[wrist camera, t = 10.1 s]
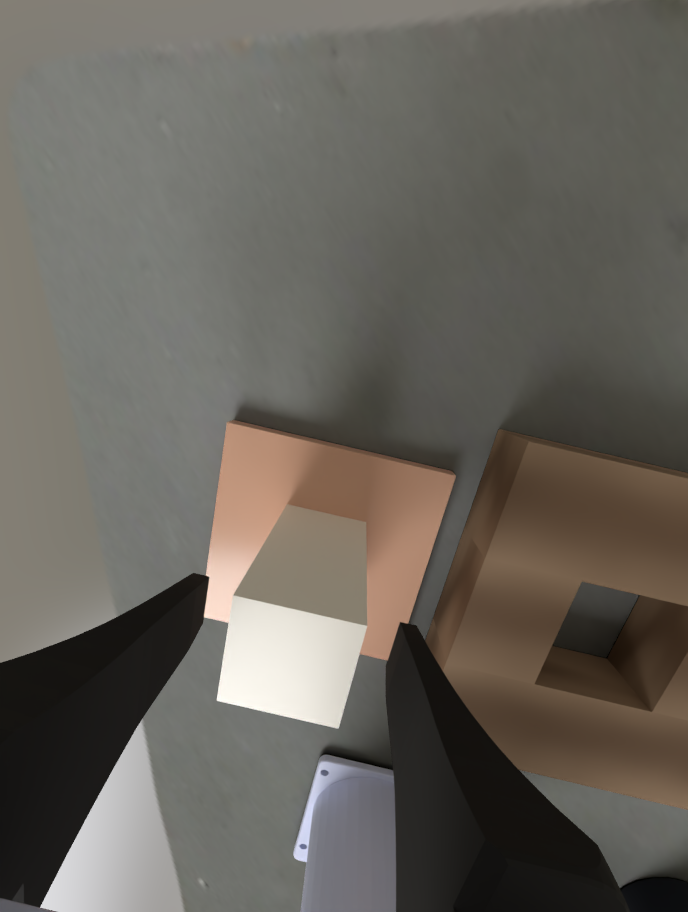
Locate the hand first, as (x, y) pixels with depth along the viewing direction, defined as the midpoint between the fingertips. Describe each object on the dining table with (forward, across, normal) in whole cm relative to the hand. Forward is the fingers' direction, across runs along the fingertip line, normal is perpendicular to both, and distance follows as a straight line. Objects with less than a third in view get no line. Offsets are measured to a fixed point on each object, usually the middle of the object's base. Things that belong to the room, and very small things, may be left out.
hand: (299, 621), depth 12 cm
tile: (+6, 0, 0) cm, 6 cm away
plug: (+5, 0, 0) cm, 5 cm away
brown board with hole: (+6, -14, 0) cm, 15 cm away
